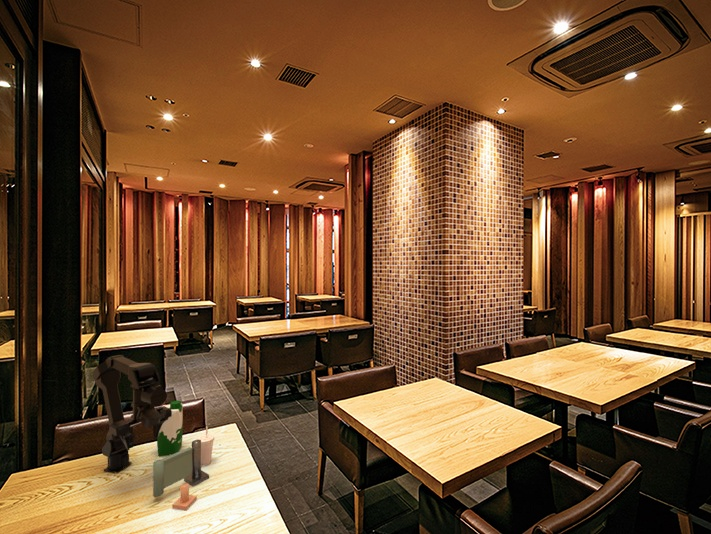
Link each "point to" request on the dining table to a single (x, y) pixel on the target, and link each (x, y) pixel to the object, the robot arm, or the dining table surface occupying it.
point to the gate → (171, 470)
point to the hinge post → (196, 466)
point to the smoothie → (206, 447)
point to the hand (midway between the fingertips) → (142, 443)
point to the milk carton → (171, 431)
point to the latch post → (184, 498)
